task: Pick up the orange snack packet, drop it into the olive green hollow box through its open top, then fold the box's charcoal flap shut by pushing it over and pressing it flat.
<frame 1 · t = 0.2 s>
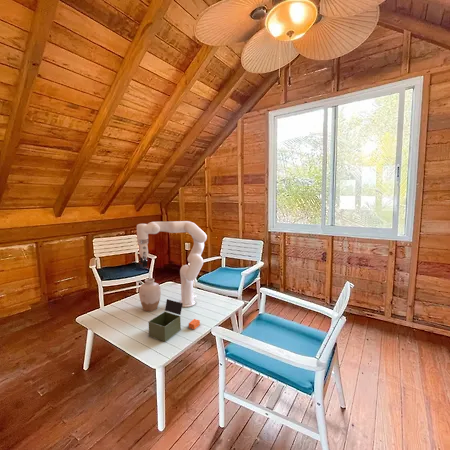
hand: (143, 264, 179), 37 cm above the table, tool pointing down, fingers open, 9 cm apart
flap: (173, 306, 165), point 14 cm above the table, hinge at 110.0°
olive green hollow box: (165, 332, 159), on the table
packet: (194, 326, 167), on the table
vase: (150, 308, 192), on the table
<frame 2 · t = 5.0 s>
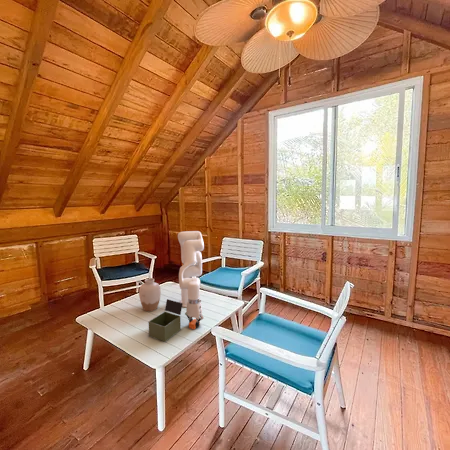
hand: (194, 325, 167), 0 cm above the table, tool pointing down, fingers closed on packet, 4 cm apart
packet: (194, 326, 167), on the table, touching gripper
everything else where it was.
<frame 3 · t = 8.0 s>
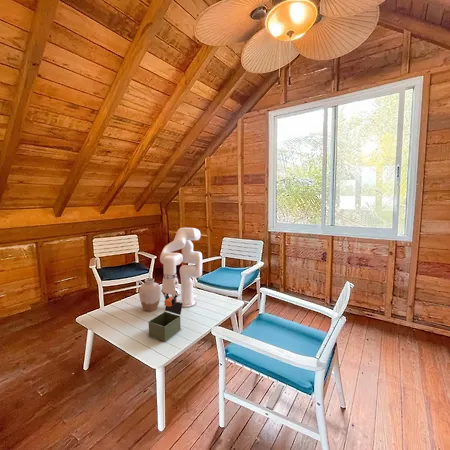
hand: (170, 303, 157), 20 cm above the table, tool pointing down, fingers closed on packet, 4 cm apart
packet: (170, 303, 157), point 19 cm above the table, touching gripper
everything else where it was.
when the fingers open (8 cm above the table, at t = 11.3 s): packet drops 7 cm, resting on olive green hollow box.
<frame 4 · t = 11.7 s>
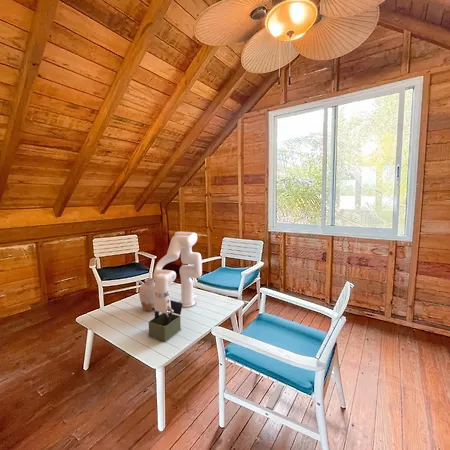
hand: (162, 319, 156), 10 cm above the table, tool pointing down, fingers open, 9 cm apart
packet: (163, 333, 158), resting on olive green hollow box
everything else where it was.
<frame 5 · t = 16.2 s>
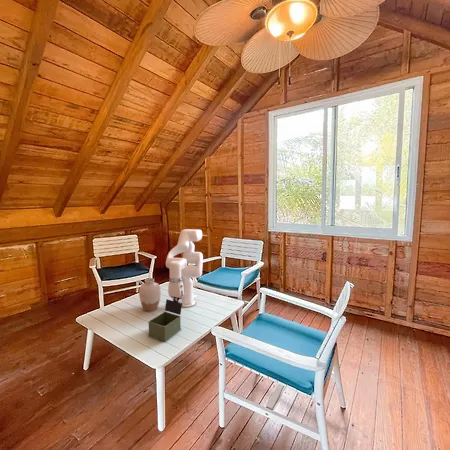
hand: (176, 305, 167), 13 cm above the table, tool pointing down, fingers closed
flap: (173, 306, 165), point 14 cm above the table, hinge at 105.5°, touching gripper
everything else where it was.
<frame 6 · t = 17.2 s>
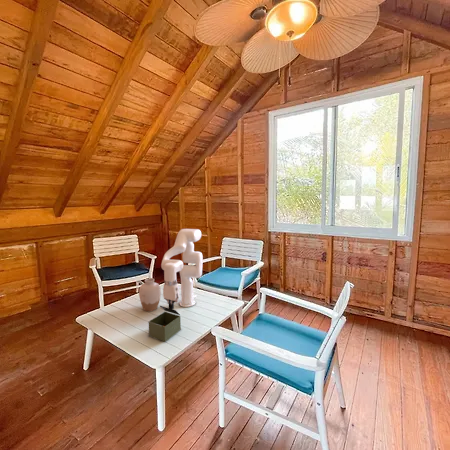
hand: (171, 309, 163), 13 cm above the table, tool pointing down, fingers closed
flap: (169, 310, 162), point 13 cm above the table, hinge at 47.8°, touching gripper
everything else where it was.
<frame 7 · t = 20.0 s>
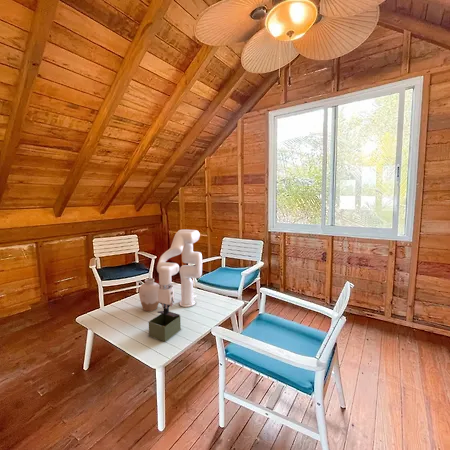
hand: (166, 313, 159), 12 cm above the table, tool pointing down, fingers closed
flap: (168, 313, 161), point 11 cm above the table, hinge at 16.9°
everything else where it was.
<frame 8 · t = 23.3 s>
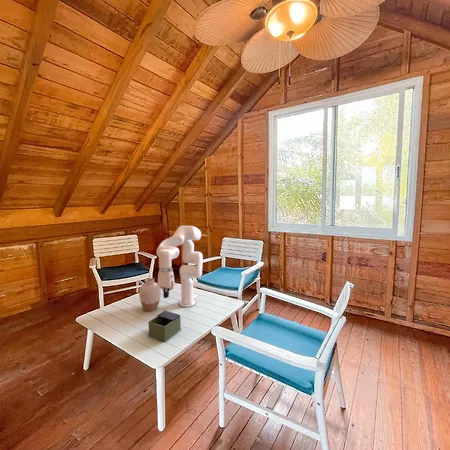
hand: (166, 297, 158), 23 cm above the table, tool pointing down, fingers closed
flap: (168, 315, 161), point 10 cm above the table, hinge at -0.3°
everything else where it was.
at the end: packet inside the target area in the olive green hollow box (2.0 cm from its centre), point 0.5 cm above the olive green hollow box's base; flap at +0° (first picture: +110°) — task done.
